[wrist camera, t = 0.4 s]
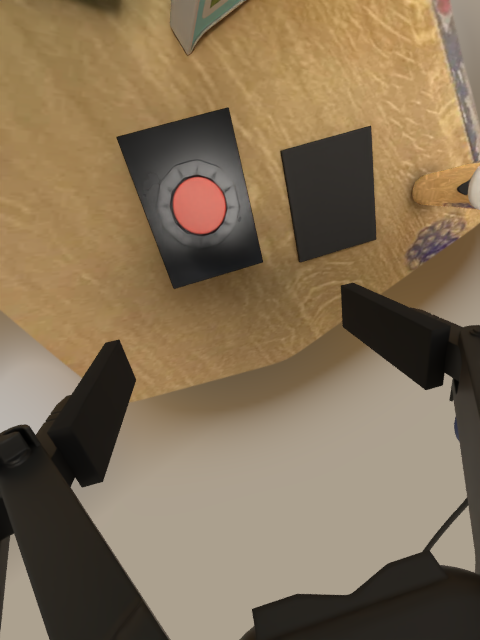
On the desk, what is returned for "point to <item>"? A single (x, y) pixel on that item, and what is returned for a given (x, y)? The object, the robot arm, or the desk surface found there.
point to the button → (199, 205)
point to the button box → (174, 168)
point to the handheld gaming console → (197, 18)
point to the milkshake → (450, 187)
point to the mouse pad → (331, 193)
